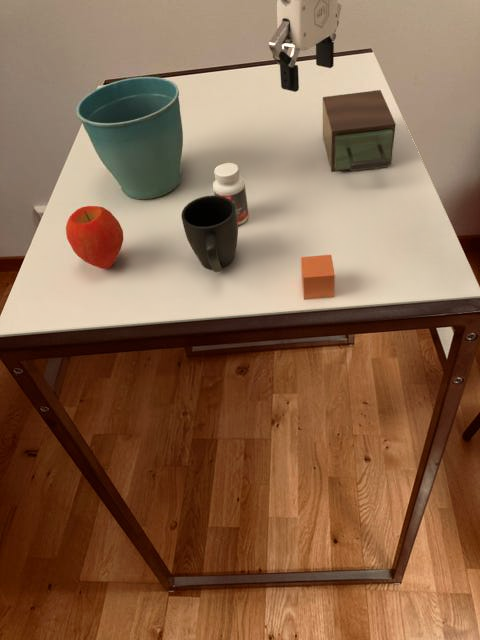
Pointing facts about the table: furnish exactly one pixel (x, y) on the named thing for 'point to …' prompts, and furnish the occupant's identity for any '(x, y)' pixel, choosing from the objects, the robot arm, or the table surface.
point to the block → (317, 276)
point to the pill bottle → (232, 188)
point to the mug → (212, 230)
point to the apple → (95, 235)
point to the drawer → (363, 150)
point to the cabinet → (354, 117)
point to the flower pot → (137, 133)
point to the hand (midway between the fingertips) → (307, 77)
